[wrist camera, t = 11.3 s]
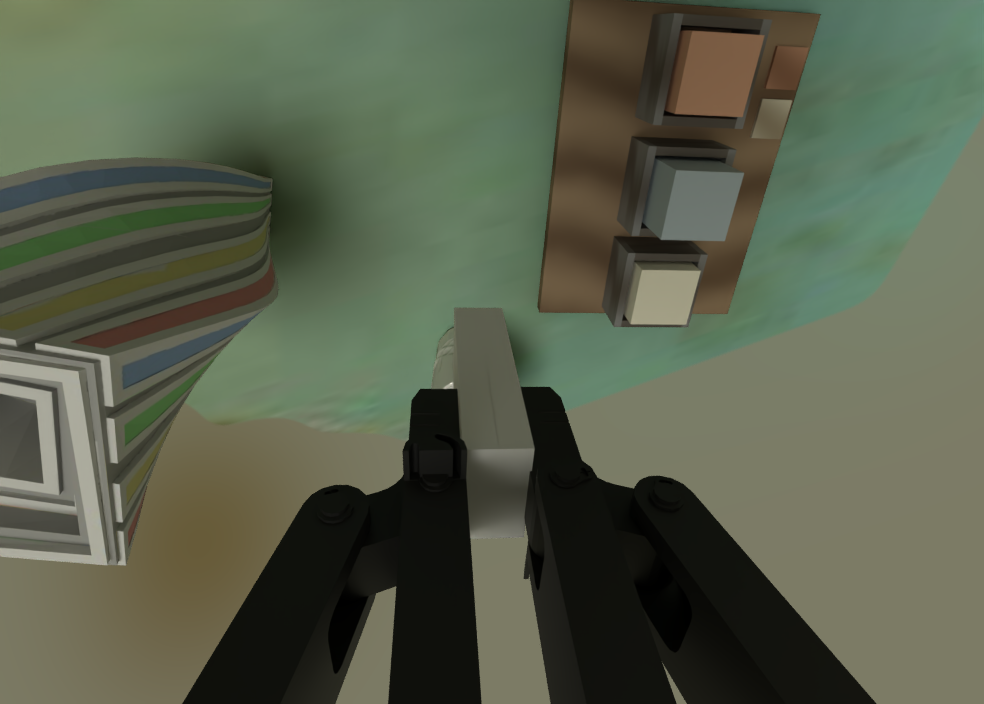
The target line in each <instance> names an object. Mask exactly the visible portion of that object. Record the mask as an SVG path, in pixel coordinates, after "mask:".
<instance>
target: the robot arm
mask: <svg viewBox="0 0 984 704" xmlns="http://www.w3.org/2000/svg"><path fill="white" fill-rule="evenodd" d="M403 471H404V475H403V477H402V478H401V479H400V480H399V481H398V482H397V483H396V484H394V485H393V486H391V487H389V488H388V489H385V490H382V491H380V492H377V493H373V494H370V495H365V494H364V493H363V492H362V491H361V490H360V489H358V488H355V487H352V486H349V485H333V486H330V487H326V488H323V489H321V490H319V491H317V492H315V493H314V494H312V495H311V496H310V497H309V498H308V499H307V500H306V502H305V503H304V504H303V505H302V507H301V509H300V510H299V512H298V513H297V515H296V517H295V519H294V520H293V522H292V523H291V525H290V527H289V528H288V530H287V532H286V533H285V535H284V537H283V538H282V540H281V542H280V543H279V545H278V546H277V548H276V550H275V551H274V553H273V555H272V556H271V558H270V560H269V561H268V563H267V565H266V566H265V568H264V570H263V571H262V573H261V575H260V576H259V578H258V580H257V581H256V583H255V584H254V586H253V588H252V590H251V591H250V593H249V594H248V596H247V598H246V599H245V601H244V603H243V604H242V606H241V608H240V609H239V611H238V613H237V614H236V616H235V618H234V619H233V621H232V622H231V624H230V626H229V628H228V629H227V631H226V632H225V634H224V636H223V637H222V639H221V641H220V642H219V644H218V646H217V647H216V649H215V651H214V652H213V654H212V656H211V657H210V659H209V660H208V662H207V664H206V665H205V667H204V669H203V670H202V672H201V674H200V675H199V677H198V679H197V680H196V682H195V684H194V685H193V687H192V689H191V690H190V692H189V694H188V695H187V697H186V699H185V700H184V702H183V703H182V704H335V703H336V700H337V697H338V695H339V692H340V689H341V687H342V684H343V682H344V679H345V676H346V674H347V671H348V668H349V666H350V663H351V660H352V658H353V655H354V652H355V650H356V647H357V644H358V641H359V639H360V636H361V634H362V631H363V628H364V626H365V623H366V620H367V617H368V615H369V612H370V610H371V607H372V604H373V602H374V599H375V595H376V593H378V592H381V591H384V590H386V589H390V588H392V587H395V586H396V587H397V588H396V601H395V615H394V629H393V643H392V657H391V672H390V685H389V700H388V704H481V690H480V675H479V659H478V646H477V630H476V616H475V602H474V601H475V600H474V586H473V571H472V556H471V543H470V542H471V541H470V539H483V538H511V537H512V538H514V537H524V531H525V524H526V529H527V535H528V546H527V554H526V561H525V569H524V579H528V578H529V575H530V581H531V586H532V593H533V599H534V605H535V611H536V617H537V623H538V629H539V635H540V641H541V647H542V654H543V660H544V665H545V671H546V678H547V684H548V690H549V695H550V702H551V704H676V701H675V698H674V695H673V692H672V689H671V686H670V684H669V681H668V678H667V675H666V672H665V670H664V667H663V664H664V666H665V667H666V669H667V671H668V673H669V674H670V676H671V678H672V679H673V681H674V682H675V684H676V686H677V688H678V689H679V691H680V693H681V694H682V696H683V698H684V700H685V701H686V703H687V704H876V703H875V702H874V700H873V699H872V698H871V697H870V696H869V695H868V694H867V692H866V691H865V690H864V689H863V688H862V687H861V685H860V684H859V683H858V682H857V681H856V680H855V678H854V677H853V676H852V675H851V674H850V673H849V672H848V670H847V669H846V668H845V667H844V666H843V665H842V664H841V662H840V661H839V660H838V659H837V658H836V657H835V656H834V655H833V653H832V652H831V651H830V650H829V649H828V647H827V646H826V645H825V644H824V643H823V642H822V641H821V639H820V638H819V637H818V636H817V635H816V634H815V633H814V632H813V630H812V629H811V628H810V627H809V626H808V624H807V623H806V622H805V621H804V620H803V619H802V618H801V616H800V615H799V614H798V613H797V612H796V611H795V610H794V608H793V607H792V606H791V605H790V604H789V603H788V601H787V600H785V598H784V597H783V596H782V595H781V594H780V592H779V591H778V590H777V589H776V588H775V587H774V586H773V584H772V583H771V582H770V581H769V580H768V579H767V577H766V576H765V575H764V574H763V573H762V572H761V570H760V569H759V568H758V567H757V566H756V565H755V564H754V562H753V561H752V560H751V559H750V558H749V557H748V555H747V554H746V553H745V552H744V551H743V550H742V549H741V547H740V546H739V545H738V544H737V543H736V542H735V541H734V539H733V538H732V537H731V536H730V535H729V534H728V532H727V531H726V530H725V529H724V528H723V527H722V526H721V525H720V523H719V522H718V521H717V520H716V519H715V518H714V517H713V515H712V514H711V513H710V512H709V511H708V510H707V508H706V507H705V506H704V505H703V504H702V503H701V501H700V500H699V499H698V498H697V497H696V496H695V495H694V493H693V492H692V491H691V490H689V489H688V488H687V487H686V486H685V485H684V484H682V483H680V482H678V481H676V480H674V479H672V478H667V477H663V476H648V477H646V478H643V479H641V480H640V481H639V482H638V483H637V484H636V486H635V488H634V489H633V488H629V487H624V486H619V485H615V484H612V483H609V482H605V481H603V480H601V479H599V478H597V476H596V474H595V473H594V471H593V469H592V468H591V467H590V466H589V465H587V464H586V463H584V462H583V461H582V459H581V457H580V453H579V450H578V447H577V444H576V441H575V439H574V435H573V433H572V430H571V426H570V424H569V420H568V417H567V415H566V413H565V408H564V405H563V403H562V400H561V397H560V396H559V395H558V394H557V393H556V392H555V391H554V390H553V389H551V388H550V387H520V383H519V379H518V374H517V370H516V366H515V361H514V357H513V353H512V348H511V344H510V340H509V335H508V331H507V327H506V322H505V318H504V314H503V309H502V308H454V353H453V389H420V390H419V391H418V393H417V394H416V395H415V397H414V398H413V399H412V403H411V417H410V431H409V440H408V441H407V442H406V443H405V446H404V449H403ZM662 663H663V664H662Z"/></svg>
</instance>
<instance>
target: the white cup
mask: <svg viewBox="0 0 984 704" xmlns="http://www.w3.org/2000/svg"><path fill="white" fill-rule="evenodd" d="M453 353H454V328H452V329H450V330H448V331H447V332H446V333H445V335H444V336H443V337H442V338H441V339H440V341H439V343H438V348H437V353H436V360H435V362H434V370H433V377H432V384H431V389H453Z"/></svg>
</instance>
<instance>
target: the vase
mask: <svg viewBox="0 0 984 704" xmlns="http://www.w3.org/2000/svg"><path fill="white" fill-rule="evenodd" d="M272 181H273V178H268V177H264V176H257V175H255V174H251V173H248V172H245V171H242V170H239V169H235V168H231V167H227V166H222V165H217V164H212V163H206V162H198V161H190V160H181V159H163V158H119V159H100V160H87V161H81V162H74V163H67V164H60V165H53V166H46V167H39V168H36V169H32V170H28V171H24V172H20V173H16V174H12V175H8V176H4V177H0V556H1V557H13V558H14V557H15V558H26V559H38V560H50V561H62V562H75V563H86V564H99V565H126V564H127V560H128V557H129V554H130V550H131V547H132V543H133V540H134V537H135V534H136V530H137V526H138V521H139V517H140V512H141V508H142V504H143V500H144V496H145V492H146V488H147V484H148V482H149V479H150V476H151V474H152V471H153V468H154V466H155V463H156V461H157V458H158V455H159V453H160V450H161V448H162V445H163V443H164V441H165V439H166V436H167V434H168V432H169V430H170V428H171V425H172V423H173V421H174V419H175V418H176V415H177V414H178V412H179V410H180V408H181V407H182V405H183V403H184V402H185V400H186V399H187V397H188V395H189V394H190V392H191V390H192V389H193V387H194V385H195V384H196V383H197V382H198V380H199V379H200V378H201V376H202V375H203V374H204V373H205V371H206V370H207V369H208V367H209V366H210V365H211V364H212V362H213V361H214V359H215V358H216V357H217V356H218V355H219V353H220V352H221V351H222V350H223V349H224V348H225V347H226V346H227V344H228V343H229V342H230V341H231V340H232V339H233V338H234V336H235V335H237V334H238V333H239V332H240V331H241V330H242V329H243V328H244V327H245V326H246V325H247V324H248V323H249V322H250V321H251V320H252V319H253V318H254V317H255V316H257V315H258V314H259V313H260V312H261V311H262V310H264V309H265V308H266V307H267V306H269V305H270V304H271V303H272V302H273V301H274V300H275V299H276V297H277V294H278V281H277V276H276V272H275V269H274V265H273V261H272V257H271V252H270V246H269V238H270V226H269V225H270V219H271V212H270V211H269V209H270V206H271V200H272V194H270V191H272Z"/></svg>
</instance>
